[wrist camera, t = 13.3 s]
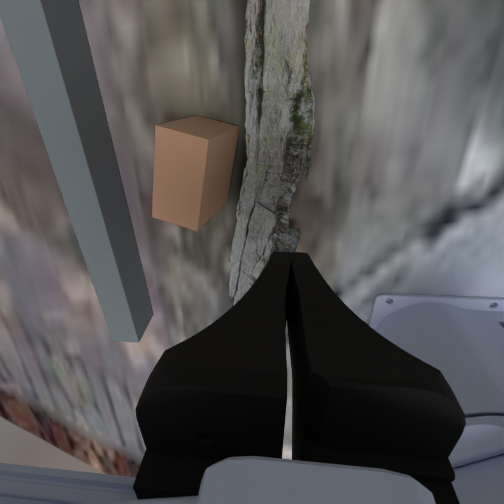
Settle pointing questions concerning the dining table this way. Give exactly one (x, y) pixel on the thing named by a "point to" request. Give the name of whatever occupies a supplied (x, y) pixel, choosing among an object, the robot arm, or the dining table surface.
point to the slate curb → (81, 152)
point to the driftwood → (272, 135)
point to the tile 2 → (192, 169)
